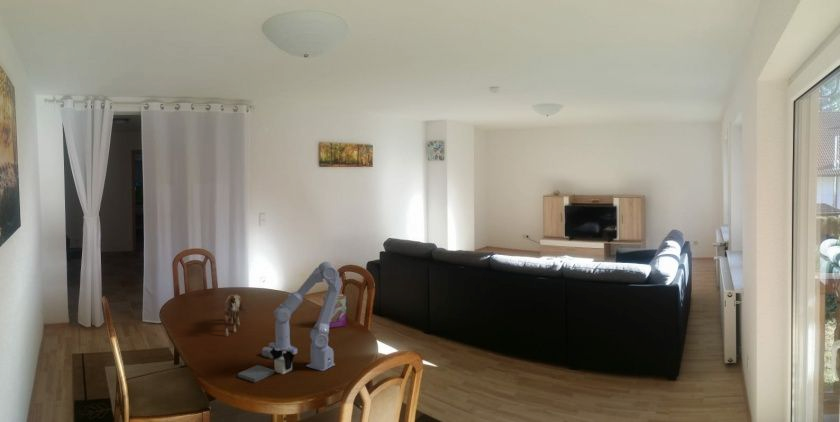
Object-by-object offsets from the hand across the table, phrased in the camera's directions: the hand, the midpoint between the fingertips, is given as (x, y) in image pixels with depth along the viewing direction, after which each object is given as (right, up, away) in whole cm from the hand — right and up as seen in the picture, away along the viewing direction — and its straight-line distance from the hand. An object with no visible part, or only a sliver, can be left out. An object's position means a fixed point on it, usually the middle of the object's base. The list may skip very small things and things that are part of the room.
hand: (283, 367), depth 214 cm
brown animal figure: (-37, +4, +54) cm, 66 cm away
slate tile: (-10, -2, -4) cm, 11 cm away
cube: (0, -1, 0) cm, 1 cm away
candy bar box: (+12, +4, +58) cm, 59 cm away
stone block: (-7, 0, +19) cm, 20 cm away
